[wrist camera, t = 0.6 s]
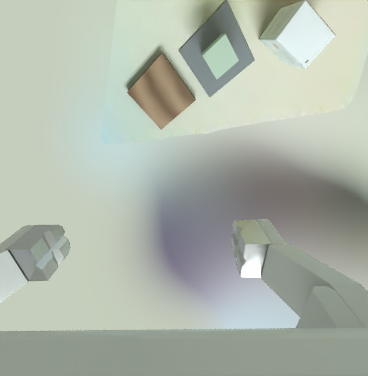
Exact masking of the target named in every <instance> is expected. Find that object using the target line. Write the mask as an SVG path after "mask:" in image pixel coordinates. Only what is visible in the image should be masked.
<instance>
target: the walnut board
mask: <svg viewBox="0 0 368 376" xmlns="http://www.w3.org/2000/svg"><path fill="white" fill-rule="evenodd" d="M127 93H128V94H129V95H130V96H131V97H132V98H133V99H134V100H135V102H136V103H137V104H138V105H139V106H140V107H141V108H142V109H143V110H144V111H145V113H146V114H147V115H148V116H149V117H150V118H151V119H152V120H153V121H154V122H155V123H156V125H157V126H158V127H159V128H160V129H162V128H164V127H165V126H166V125H167V124H168V123H169V122H171V121H172V120H173V119H174V118H175V117H176V116H178V115H179V114H180V113H181V112H182V111H183V110H185V109H186V108H187V107H188V106H189V105H191V104H192V103H193V102H194V101H195V97H194V96H193V95H192V93H191V92H190V90H189V89H188V88H187V86H186V85H185V83H184V82H183V81H182V79H181V78H180V76H179V75H178V74H177V72H176V71H175V69H174V68H173V66H172V65H171V64H170V62H169V61H168V59H167V58H166V57H165V55H164V54H163V53H162V54H161V55H160V56H159V57H158V58H157V59H156V61H155V62H154V63H153V64H152V65H151V66H150V67H149V68H148V70H147V71H146V72H145V73H144V74H143V75H142V76H141V77H140V78H139V80H138V81H137V82H136V83H135V84H134V85H133V86H132V87H131V89H130V90H129V91H128V92H127Z"/></svg>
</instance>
